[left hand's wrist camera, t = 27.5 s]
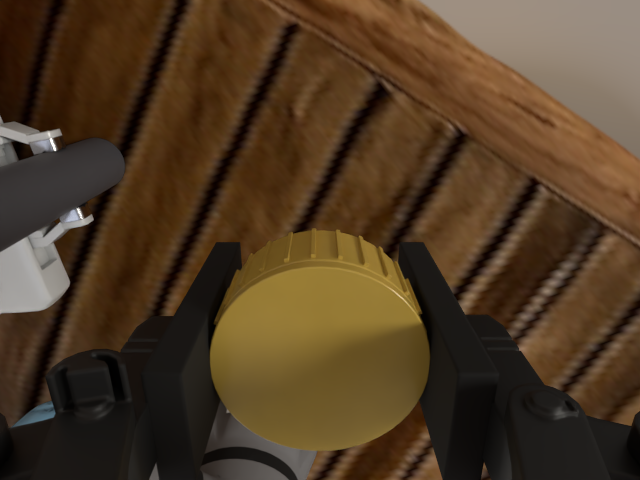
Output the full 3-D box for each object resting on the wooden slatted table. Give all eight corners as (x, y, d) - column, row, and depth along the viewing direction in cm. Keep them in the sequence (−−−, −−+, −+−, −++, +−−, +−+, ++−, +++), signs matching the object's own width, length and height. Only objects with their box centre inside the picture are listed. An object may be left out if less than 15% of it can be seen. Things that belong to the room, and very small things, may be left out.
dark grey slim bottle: (110, 130, 39) (-70, 187, 21) (133, 179, 41) (-15, 270, 23) (64, 146, 40) (-150, 215, 22) (89, 193, 41) (-91, 294, 23)
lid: (397, 206, 11) (415, 239, 9) (427, 373, 13) (448, 433, 11) (199, 250, 12) (173, 291, 10) (255, 405, 14) (243, 470, 12)
